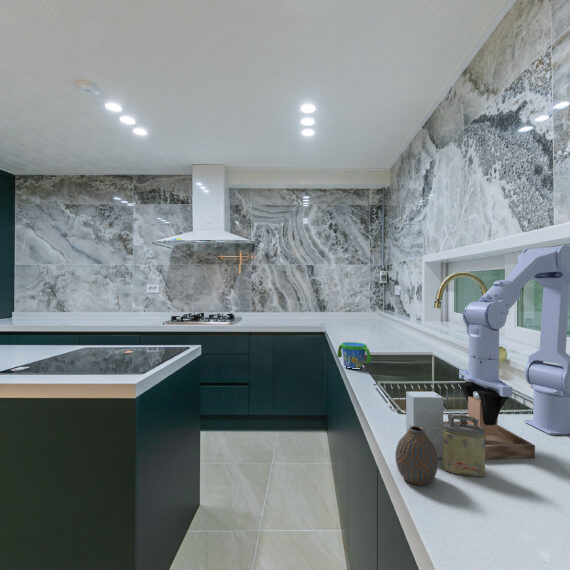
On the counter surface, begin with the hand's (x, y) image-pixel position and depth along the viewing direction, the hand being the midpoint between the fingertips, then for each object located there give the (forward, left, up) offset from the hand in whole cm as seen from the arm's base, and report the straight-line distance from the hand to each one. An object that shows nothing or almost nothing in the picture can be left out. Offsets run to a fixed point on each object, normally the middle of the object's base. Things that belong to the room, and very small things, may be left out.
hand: (482, 420), depth 75 cm
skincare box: (+15, +3, -5) cm, 16 cm away
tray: (0, 0, -5) cm, 5 cm away
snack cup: (+7, -72, -5) cm, 73 cm away
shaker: (0, 0, -2) cm, 2 cm away
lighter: (+11, +10, -5) cm, 16 cm away
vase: (+21, +12, -5) cm, 25 cm away
